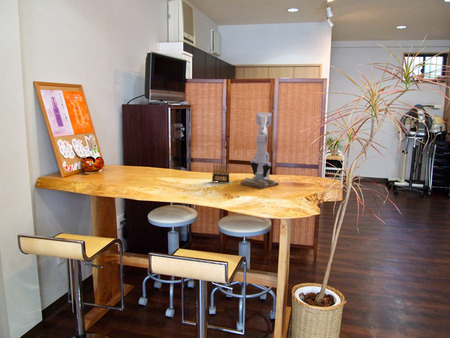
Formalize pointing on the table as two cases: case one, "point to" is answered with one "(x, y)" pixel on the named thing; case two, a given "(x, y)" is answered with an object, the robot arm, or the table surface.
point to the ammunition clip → (220, 173)
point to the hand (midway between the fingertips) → (259, 175)
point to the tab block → (259, 176)
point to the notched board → (259, 183)
